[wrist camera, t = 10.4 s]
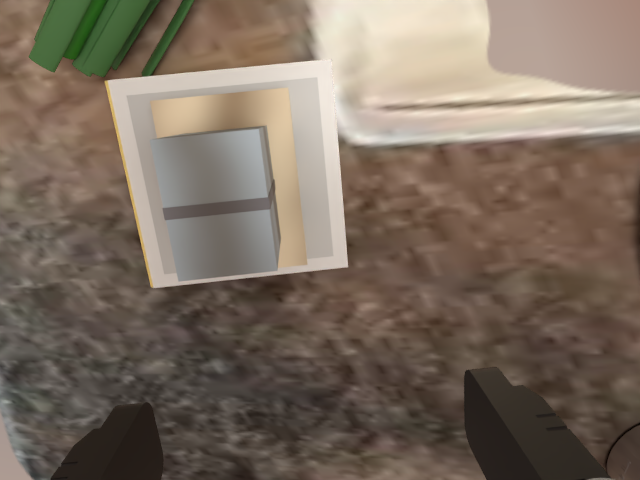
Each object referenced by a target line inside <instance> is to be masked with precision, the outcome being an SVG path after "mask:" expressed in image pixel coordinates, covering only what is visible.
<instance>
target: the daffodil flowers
mask: <svg viewBox="0 0 640 480" xmlns="http://www.w3.org/2000/svg"><path fill="white" fill-rule="evenodd" d="M159 1H160V0H50V2H49V5H48V7H47V10H46V12H45V14H44V17H43V19H42V22H41V24H40V27H39V29H38V31H37V34H36V36H35V39H34V40H35V41H36V43H35V45H34V47H33V49H32V51H31V53H30V55H29V58H30V59H31V60H32V61H34V62H35V63H37V64H38V65H40V66H42V67H43V68H45V69H47V70H49V71H51V72H55V71H56V69H57V67H58V65H59V63H60V61H61V59H62V57H65V58H68V59H74V61H73V63H72V65H73V66H74V67H75V68H77V69H78V70H79V71H81V72H82V73H84V74H85V75H87V76H89V77H91V75H92V73H93V74H96V75H98V76H101V77H105V76H106V74H107V72H108V71H109V69H110V67H112V68H113V69H114V70H116V69H117V68H118V66H119V65H120V63H121V61H122V60H123V58H124V57H125V55H126V53H127V52H128V50H129V49H130V47H131V45H132V44H133V42H134V41H135V39H136V37H137V36H138V34H139V33H140V31H141V29H142V28H143V26H144V25H145V23H146V21H147V20H148V18H149V17H150V15H151V13H152V12H153V10H154V9H155V7H156V6H157V4H158V3H159ZM193 2H194V0H183V1H182V2H181V4H180V6H179V8H178V10H177V12H176V14H175V15H174V17H173V19H172V21H171V22H170V24H169V26H168V28H167V29H166V31H165V33H164V35H163V36H162V38H161V40H160V42H159V43H158V45H157V47H156V48H155V50H154V52H153V54H152V55H151V57H150V59H149V61H148V62H147V64H146V66H145V68H144V69H143V71H142V76H143V77H147V76H151V75H152V73H153V72H154V70H155V68H156V66H157V65H158V63H159V61H160V60H161V58H162V56H163V55H164V53H165V51H166V49H167V48H168V46H169V44H170V43H171V41H172V39H173V38H174V36H175V34H176V32H177V31H178V29H179V27H180V26H181V24H182V22H183V20H184V19H185V17H186V15H187V13H188V11H189V9H190V8H191V6H192V4H193Z"/></svg>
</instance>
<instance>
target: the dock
mask: <svg viewBox="0 0 640 480" xmlns="http://www.w3.org/2000/svg"><path fill="white" fill-rule="evenodd" d="M105 84H106V89H107V93H108V98H109V102H110V107H111V111H112V115H113V120H114V124H115V129H116V133H117V138H118V142H119V147H120V151H121V156H122V160H123V165H124V169H125V174H126V178H127V183H128V187H129V191H130V196H131V200H132V205H133V209H134V214H135V218H136V223H137V227H138V232H139V236H140V241H141V245H142V250H143V254H144V258H145V263H146V267H147V272H148V276H149V281H150V285H151V287H153V288H159V287H169V286H178V285H187V284H196V283H206V282H215V281H224V280H233V279H242V278H252V277H261V276H270V275H279V274H289V273H298V272H307V271H316V270H325V269H335V268H344V267H348V259H347V247H346V234H345V222H344V209H343V197H342V184H341V172H340V159H339V147H338V134H337V122H336V109H335V97H334V84H333V72H332V59H327V60H316V61H306V62H295V63H284V64H274V65H263V66H253V67H242V68H232V69H221V70H211V71H200V72H190V73H179V74H168V75H158V76H147V77H137V78H126V79H116V80H108V81H105ZM287 87H288V90H289V97H290V107H291V116H292V126H293V136H294V145H295V154H296V161H297V171H298V180H299V189H300V199H301V209H302V218H303V225H304V235H305V244H306V253H307V264H308V265H300V266H291V267H282V268H278V270H277V271H271V272H262V273H253V274H244V275H235V276H225V277H216V278H207V279H198V280H189V281H180V282H178V277H177V272H176V267H175V262H174V257H173V252H172V248H171V243H170V238H169V233H168V228H167V223H166V220H165V219H164V214H163V209H162V208H163V203H162V199H161V194H160V189H159V184H158V179H157V174H156V169H155V164H154V159H153V154H152V149H151V145H150V140H151V139H157V134H156V129H155V124H154V119H153V114H152V109H151V104H150V101H154V100H164V99H174V98H185V97H195V96H205V95H215V94H226V93H236V92H246V91H256V90H267V89H277V88H287Z"/></svg>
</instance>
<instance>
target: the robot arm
mask: <svg viewBox="0 0 640 480" xmlns="http://www.w3.org/2000/svg"><path fill="white" fill-rule="evenodd" d="M464 411H465V430H466V435H467V439H468V442H469V445H470V447H471V450H472V452H473V454H474V456H475V458H476V460H477V462H478V463H479V465H480V467H481V469H482V471H483V473H484V475H485V477H486V479H487V480H640V425H639V426H636V427H634V428H633V429H631V430H630V431H628V432H627V433H626V434H625V435H623V436H622V437H621V438H620V439H619V440H618V442H617V443H616V444H615V445H614V447H613V448H612V450H611V452H610V454H609V457H608V461H607V472H606V471H605V470H604V469H603V468H602V467H601V465H600V464H599V463H598V462H597V461H596V460H595V458H594V457H593V456H592V455H591V454H590V453H589V451H588V450H587V449H586V448H585V447H584V446H583V444H582V443H581V442H580V441H579V440H578V439H577V437H576V436H575V435H574V434H573V433H572V432H571V430H570V429H567V426H566V425H565V423H564V422H563V421H562V420H561V419H560V418H559V416H556V414H555V412H554V411H553V409H552V408H551V407H550V406H549V405H548V404H547V403H546V401H545V400H544V399H543V398H542V397H541V396H539V395H537V394H536V393H534V392H532V391H531V390H529V389H528V388H526V387H524V386H523V385H522V386H512V385H511V384H510V382H509V381H508V380H507V378H506V377H505V376H504V375H503V373H502V372H501V371H500V370H499V369H498V368H497V367H492V368H482V369H472V370H466V372H465V376H464ZM61 464H62V465H61V467H58V469H57V470H56V472H55V473H54V474H53V476H52V477H51V480H161V476H162V472H163V452H162V447H161V443H160V439H159V434H158V430H157V426H156V422H155V417H154V413H153V409H152V407H151V405H150V404H149V403H148V402H146V403H136V404H126V405H118V406H116V407H115V408H114V409H113V410H112V412H111V413H110V415H109V416H108V418H107V419H106V421H105V422H104V424H103V425H102V427H101V428H99V429H93V430H92V431H91V432H90V433H88V434H87V435H86V436H85V437H84V438H82V439H81V440H80V441H79V442H78V443H76V444H75V445H74V446H73V448H72V449H71V451H70V452H69V453H68V455H67V456H66V458H65V459H64V460H63V462H62V463H61ZM607 473H608V474H607Z"/></svg>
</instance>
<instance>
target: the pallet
mask: <svg viewBox="0 0 640 480" xmlns="http://www.w3.org/2000/svg"><path fill="white" fill-rule="evenodd" d="M150 104H151V109H152V114H153V119H154V124H155V129H156V134H157V139H151V140H150V145H151V149H152V154H153V159H154V164H155V169H156V174H157V179H158V184H159V189H160V194H161V199H162V203H163V208H162V209H163V214H164V219H165V220H166V223H167V228H168V233H169V238H170V243H171V248H172V252H173V257H174V262H175V267H176V272H177V277H178V282H180V281H189V280H198V279H207V278H216V277H225V276H235V275H244V274H253V273H262V272H271V271H277V270H278V268H282V267H291V266H300V265H308V264H307V253H306V244H305V235H304V225H303V218H302V209H301V199H300V189H299V180H298V171H297V161H296V154H295V145H294V136H293V126H292V116H291V107H290V97H289V90H288V87H287V88H277V89H267V90H256V91H246V92H236V93H226V94H215V95H205V96H195V97H185V98H174V99H164V100H154V101H150Z"/></svg>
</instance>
